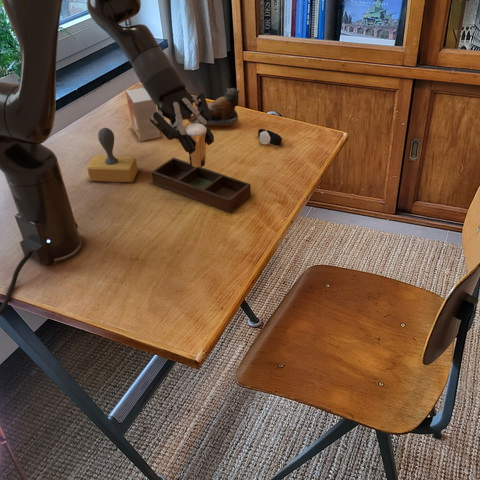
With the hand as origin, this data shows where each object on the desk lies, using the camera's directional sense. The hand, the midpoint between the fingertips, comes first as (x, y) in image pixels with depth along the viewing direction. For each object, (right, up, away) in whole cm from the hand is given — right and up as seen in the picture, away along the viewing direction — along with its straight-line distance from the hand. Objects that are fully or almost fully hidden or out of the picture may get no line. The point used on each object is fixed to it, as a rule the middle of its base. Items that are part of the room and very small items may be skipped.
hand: (202, 147), depth 123 cm
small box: (-18, +10, +29) cm, 36 cm away
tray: (-1, -8, +8) cm, 11 cm away
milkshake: (-1, -3, +4) cm, 5 cm away
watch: (+14, +7, +25) cm, 30 cm away
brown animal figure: (0, +13, +33) cm, 35 cm away
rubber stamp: (-22, -4, +13) cm, 26 cm away
